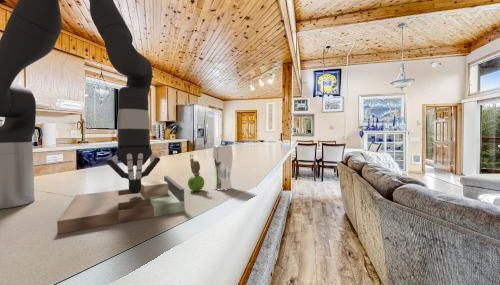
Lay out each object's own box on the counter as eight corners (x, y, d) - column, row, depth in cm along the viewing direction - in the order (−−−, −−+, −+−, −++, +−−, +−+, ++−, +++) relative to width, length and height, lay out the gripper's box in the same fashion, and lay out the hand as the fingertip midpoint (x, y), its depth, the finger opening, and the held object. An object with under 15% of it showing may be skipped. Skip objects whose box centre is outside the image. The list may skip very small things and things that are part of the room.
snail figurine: (198, 187, 79) (198, 154, 79) (207, 191, 74) (206, 155, 74) (184, 190, 75) (183, 155, 75) (192, 193, 71) (191, 156, 70)
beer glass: (214, 191, 73) (213, 146, 73) (212, 186, 80) (211, 145, 80) (234, 189, 75) (234, 146, 75) (230, 185, 82) (230, 145, 81)
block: (144, 197, 58) (144, 186, 58) (140, 192, 62) (140, 182, 62) (168, 193, 61) (167, 183, 61) (162, 189, 66) (162, 179, 66)
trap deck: (57, 234, 42) (56, 205, 42) (76, 204, 61) (75, 184, 61) (184, 211, 54) (184, 189, 54) (167, 192, 73) (167, 175, 73)
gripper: (103, 126, 51) (104, 200, 52) (163, 127, 58) (163, 192, 59) (104, 127, 58) (106, 193, 58) (158, 128, 64) (159, 187, 65)
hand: (135, 192), depth 58 cm, fingers closed
